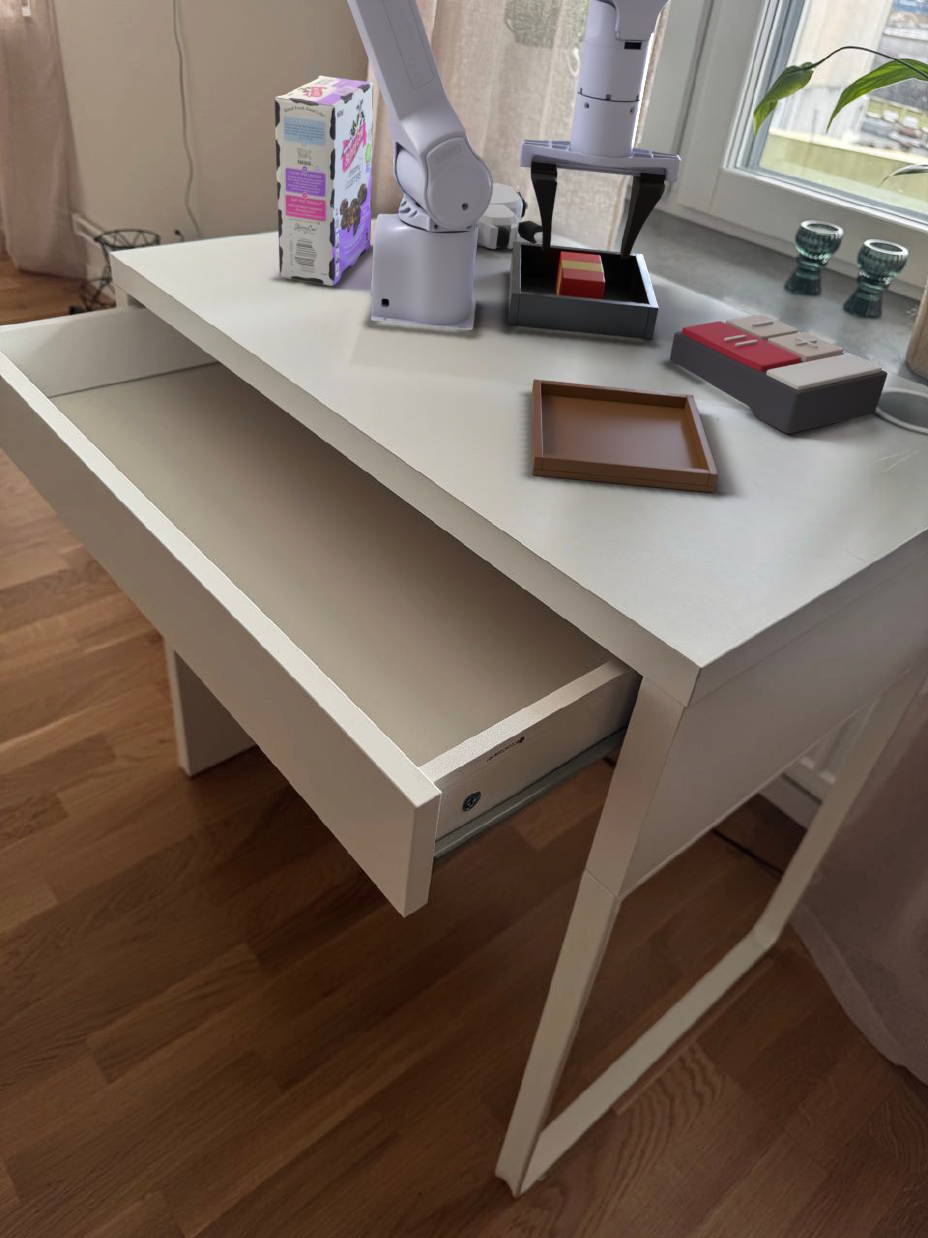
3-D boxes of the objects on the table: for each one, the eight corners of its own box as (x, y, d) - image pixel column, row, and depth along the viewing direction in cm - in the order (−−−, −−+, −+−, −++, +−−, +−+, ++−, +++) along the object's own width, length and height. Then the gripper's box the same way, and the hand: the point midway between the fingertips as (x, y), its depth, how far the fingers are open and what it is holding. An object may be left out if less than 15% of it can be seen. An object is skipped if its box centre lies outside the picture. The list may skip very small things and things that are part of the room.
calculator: (762, 308, 90) (893, 363, 80) (751, 353, 93) (877, 412, 83) (673, 323, 85) (801, 384, 75) (665, 370, 88) (787, 435, 78)
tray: (532, 474, 70) (534, 456, 69) (531, 395, 80) (533, 378, 79) (713, 492, 70) (718, 474, 69) (689, 411, 80) (693, 394, 79)
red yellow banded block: (557, 315, 93) (563, 277, 91) (555, 286, 100) (560, 250, 97) (599, 319, 93) (605, 281, 91) (594, 290, 100) (600, 254, 97)
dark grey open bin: (507, 330, 91) (511, 292, 88) (509, 275, 103) (513, 240, 101) (650, 345, 91) (658, 307, 89) (636, 288, 103) (642, 254, 101)
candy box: (334, 288, 96) (334, 103, 85) (277, 279, 96) (270, 95, 86) (372, 247, 106) (376, 79, 96) (321, 239, 107) (319, 71, 97)
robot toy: (553, 265, 109) (513, 215, 120) (560, 225, 106) (518, 177, 117) (448, 266, 106) (417, 214, 116) (452, 225, 103) (419, 175, 113)
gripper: (685, 94, 88) (655, 246, 97) (527, 78, 88) (511, 232, 96) (695, 110, 83) (662, 269, 91) (527, 93, 83) (510, 254, 91)
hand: (585, 251), depth 93 cm, fingers open, 7 cm apart
